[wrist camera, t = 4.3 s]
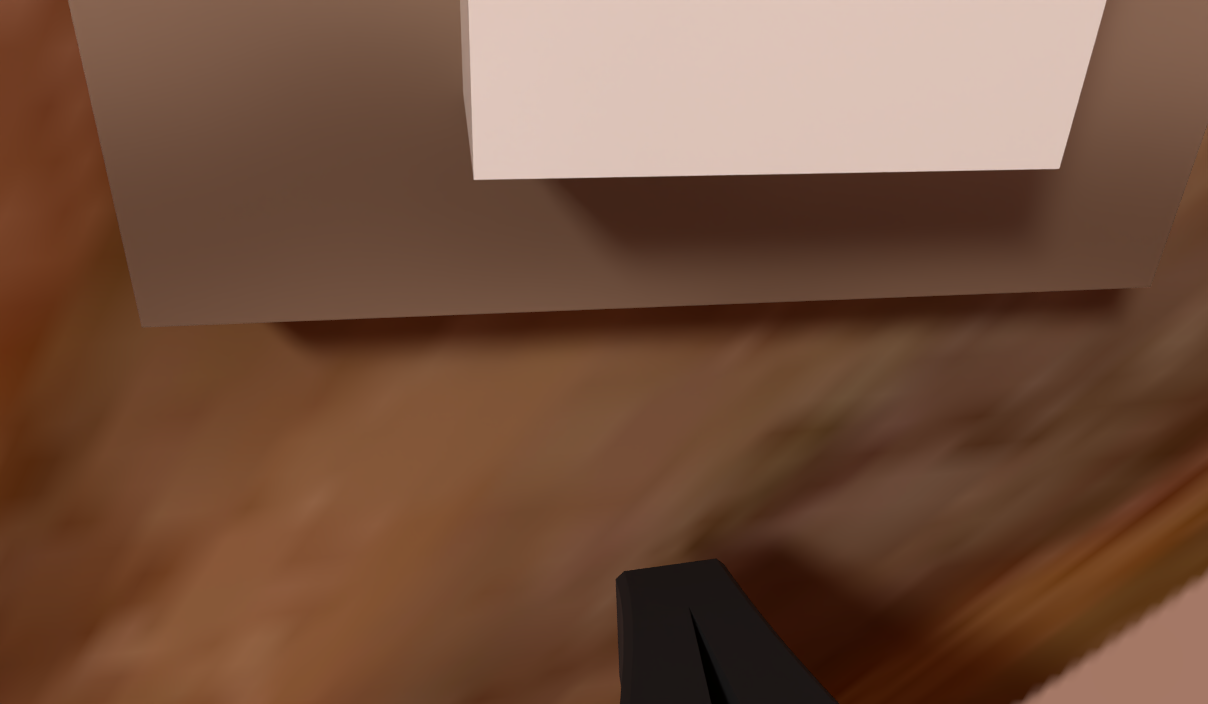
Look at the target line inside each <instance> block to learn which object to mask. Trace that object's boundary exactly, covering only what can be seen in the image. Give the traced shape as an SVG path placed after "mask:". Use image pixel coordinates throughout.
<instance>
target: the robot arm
mask: <svg viewBox="0 0 1208 704" xmlns="http://www.w3.org/2000/svg"><path fill="white" fill-rule="evenodd" d="M616 598H617V623H618V648H619V674H620V682H621V699H620V704H839V703H838V702H837V701H836V700H835V699H834V698H833V697H832V696H831V694H830V693H829V692H828V691H827V690H826V689H825V688H824V687H823V686H822V685H821V684H820V683H819V681H818V680H817V679H816V678H815V677H814V676H813V675H812V674H811V672H810V671H809V670H808V669H807V668H806V667H805V666H804V665H803V664H802V662H801V661H800V660H799V659H798V658H797V657H796V656H795V655H794V653H793V652H792V651H791V650H790V649H789V648H788V646H787V645H786V644H785V643H784V642H783V641H782V639H781V638H780V637H779V636H778V635H777V633H776V632H775V631H774V630H773V628H772V627H771V626H770V625H769V624H768V622H767V621H766V620H765V619H764V617H763V616H762V615H761V614H760V612H759V611H758V610H757V609H756V607H755V606H754V605H753V603H752V602H751V601H750V600H749V598H748V597H747V596H746V594H745V593H744V592H743V590H742V589H741V588H740V586H739V585H738V583H737V582H736V581H735V579H734V578H733V577H732V575H731V574H730V572H729V571H728V569H727V568H726V567H725V565H724V564H723V563H721V562H720V561H719V560H717V559H710V560H703V561H695V562H688V563H681V564H673V565H666V566H659V567H652V568H644V569H637V570H630V571H624V572H623V573H622V574H621V575H620V576H619V577H618V578H616Z"/></svg>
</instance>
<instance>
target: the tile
mask: <svg viewBox="0 0 1208 704" xmlns="http://www.w3.org/2000/svg"><path fill="white" fill-rule="evenodd" d="M1106 1H1107V0H460V15H461V44H462V73H463V95H464V104H465V112H466V120H467V128H468V137H469V145H470V153H471V161H472V169H473V178H474V180H491V179H545V178H598V177H651V176H704V175H758V174H811V173H864V172H918V171H971V170H1024V169H1059V168H1060V165H1061V161H1062V157H1063V154H1064V150H1065V147H1066V143H1067V140H1068V136H1069V133H1070V129H1071V125H1072V122H1073V118H1074V115H1075V111H1076V108H1077V104H1078V100H1079V97H1080V93H1081V90H1082V86H1083V83H1084V79H1085V75H1086V72H1087V68H1088V65H1089V61H1090V58H1091V54H1092V51H1093V47H1094V43H1095V40H1096V36H1097V33H1098V29H1099V26H1100V22H1101V18H1102V15H1103V11H1104V8H1105V4H1106Z"/></svg>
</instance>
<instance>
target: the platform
mask: <svg viewBox="0 0 1208 704" xmlns="http://www.w3.org/2000/svg"><path fill="white" fill-rule="evenodd" d="M68 2H69V7H70V11H71V15H72V20H73V24H74V29H75V33H76V38H77V42H78V47H79V51H80V55H81V60H82V64H83V69H84V73H85V78H86V82H87V86H88V91H89V95H90V100H91V104H92V109H93V113H94V117H95V122H96V126H97V131H98V135H99V140H100V144H101V148H102V153H103V157H104V162H105V166H106V171H107V175H108V179H109V184H110V188H111V193H112V197H113V202H114V206H115V210H116V215H117V219H118V224H119V228H120V233H121V237H122V241H123V246H124V250H125V255H126V259H127V264H128V268H129V273H130V277H131V281H132V286H133V290H134V295H135V299H136V304H137V308H138V312H139V317H140V321H141V326H142V327H164V326H189V325H214V324H239V323H265V322H290V321H315V320H340V319H365V318H390V317H416V316H441V315H466V314H491V313H516V312H542V311H567V310H592V309H617V308H642V307H668V306H693V305H718V304H743V303H768V302H793V301H819V300H844V299H869V298H894V297H919V296H945V295H970V294H995V293H1020V292H1045V291H1071V290H1096V289H1121V288H1146V287H1151V284H1152V281H1153V279H1154V276H1155V273H1156V270H1157V267H1158V264H1159V261H1160V259H1161V256H1162V253H1163V250H1164V247H1165V244H1166V242H1167V239H1168V236H1169V233H1170V230H1171V227H1172V224H1173V222H1174V219H1175V216H1176V213H1177V210H1178V207H1179V204H1180V202H1181V199H1182V196H1183V193H1184V190H1185V187H1186V185H1187V182H1188V179H1189V176H1190V173H1191V170H1192V167H1193V165H1194V162H1195V159H1196V156H1197V153H1198V150H1199V148H1200V145H1201V142H1202V139H1203V136H1204V133H1205V130H1206V128H1207V125H1208V0H1107V1H1106V4H1105V8H1104V11H1103V15H1102V18H1101V22H1100V26H1099V29H1098V33H1097V36H1096V40H1095V43H1094V47H1093V51H1092V54H1091V58H1090V61H1089V65H1088V68H1087V72H1086V75H1085V79H1084V83H1083V86H1082V90H1081V93H1080V97H1079V100H1078V104H1077V108H1076V111H1075V115H1074V118H1073V122H1072V125H1071V129H1070V133H1069V136H1068V140H1067V143H1066V147H1065V150H1064V154H1063V157H1062V161H1061V165H1060V168H1059V169H1024V170H971V171H918V172H864V173H811V174H758V175H704V176H651V177H598V178H545V179H491V180H474V178H473V169H472V161H471V153H470V145H469V137H468V128H467V120H466V112H465V104H464V95H463V73H462V44H461V15H460V0H68Z"/></svg>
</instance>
